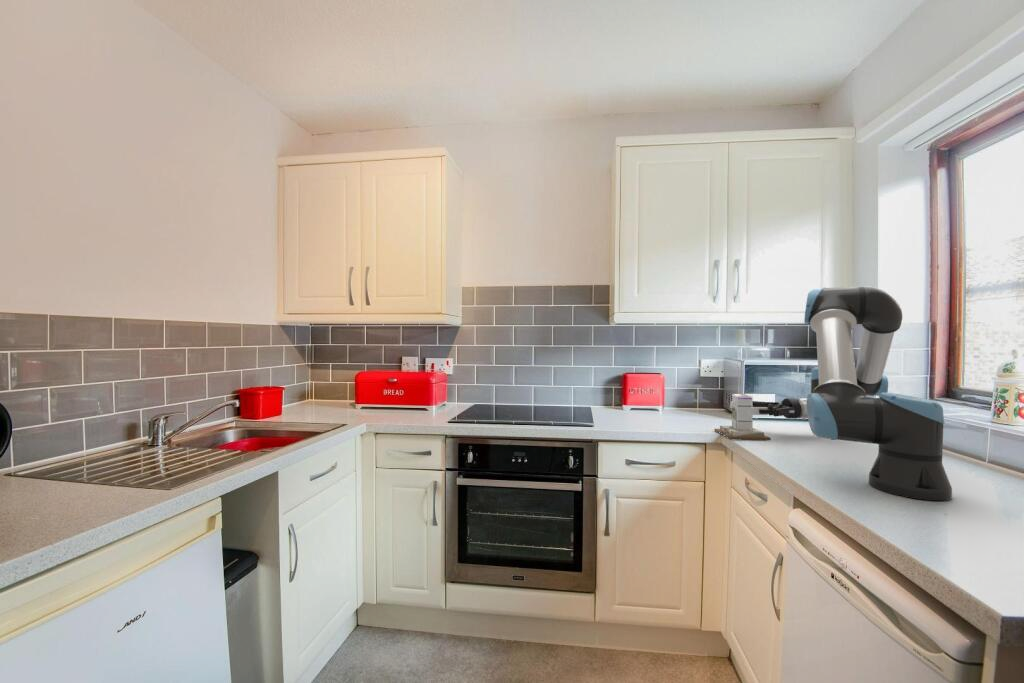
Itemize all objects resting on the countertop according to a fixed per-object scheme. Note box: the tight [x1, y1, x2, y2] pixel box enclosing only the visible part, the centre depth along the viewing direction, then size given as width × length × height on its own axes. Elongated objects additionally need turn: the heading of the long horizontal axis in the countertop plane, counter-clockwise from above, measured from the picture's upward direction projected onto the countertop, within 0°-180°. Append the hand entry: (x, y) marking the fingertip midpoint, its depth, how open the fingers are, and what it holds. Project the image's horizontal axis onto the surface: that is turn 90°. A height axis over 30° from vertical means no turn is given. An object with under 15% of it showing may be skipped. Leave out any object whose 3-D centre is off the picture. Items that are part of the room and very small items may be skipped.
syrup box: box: [731, 393, 754, 431], centre depth 163 cm, size 6×6×14 cm
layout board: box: [714, 425, 772, 441], centre depth 164 cm, size 14×14×2 cm
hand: (739, 407), depth 164 cm, fingers open, 13 cm apart
